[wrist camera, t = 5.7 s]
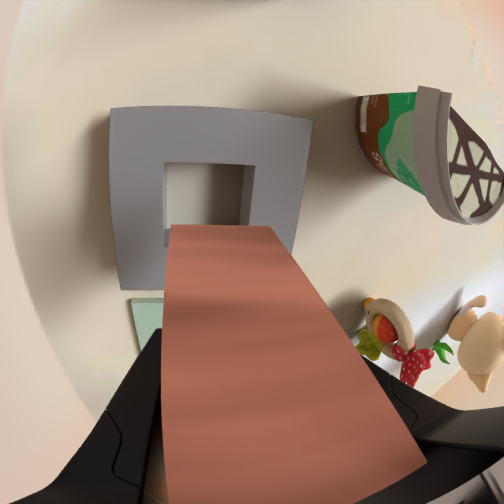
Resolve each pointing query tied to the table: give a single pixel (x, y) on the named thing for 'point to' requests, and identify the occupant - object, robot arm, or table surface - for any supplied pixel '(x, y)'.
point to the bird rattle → (392, 339)
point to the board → (147, 317)
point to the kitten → (476, 342)
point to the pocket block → (198, 151)
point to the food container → (431, 152)
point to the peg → (266, 382)
